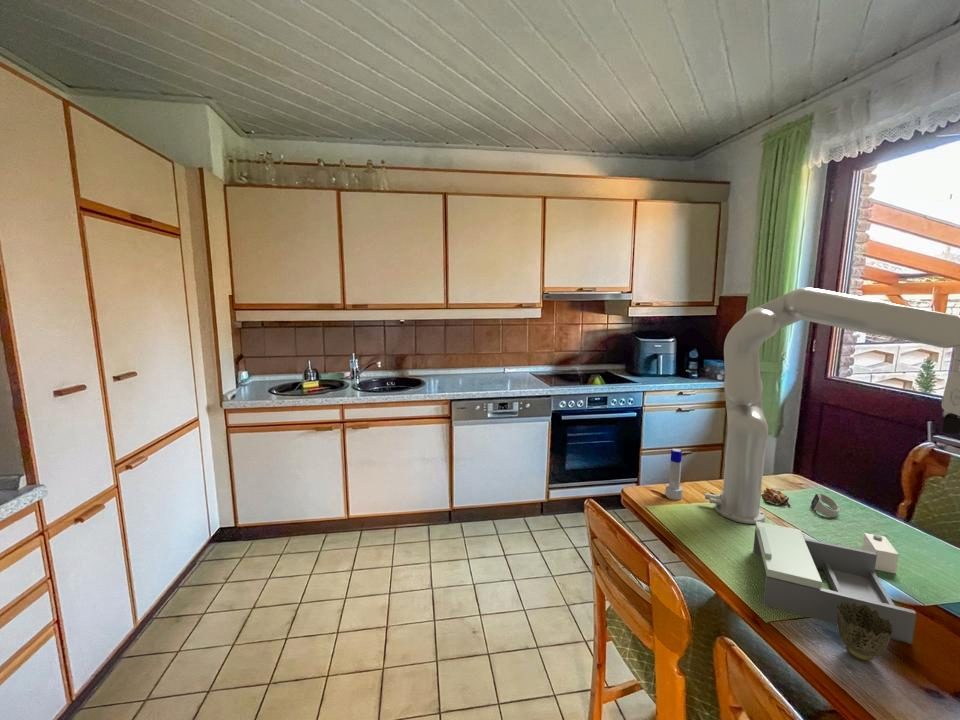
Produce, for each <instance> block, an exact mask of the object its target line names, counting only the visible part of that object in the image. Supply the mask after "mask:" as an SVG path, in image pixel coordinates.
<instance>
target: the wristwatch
mask: <svg viewBox="0 0 960 720" xmlns="http://www.w3.org/2000/svg"><path fill="white" fill-rule="evenodd" d="M825 504H826V505H827V506H828V507H827V506H826V505H825ZM829 507H830V508H829ZM811 508H812V510H813V511H816V512H818V513H819V514H821V515H822V516H825V517H828V518H837V515H838V514H839V513H840V511H841V509H840V504H838V503H836V501H835V499H833V498H831V497H829V496H827V495H826V494H823V493H821V492H816V493H815V494H814V497H812V500H811Z"/></svg>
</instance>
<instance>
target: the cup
mask: <svg viewBox="0 0 960 720" xmlns="http://www.w3.org/2000/svg"><path fill="white" fill-rule="evenodd" d="M837 621H838V625H837V630H838V634H839V637H840V639H841V641H842V642H843V644H844V645H845V649H846V652H847V653H848V655H849V656H851V658H854V659H855V660H857V661H859V662H862V663H870V662H872V661H873V660H874V658H876V657H879V656H881V655H882V654H884V653H885V651H886V650H887V648H888V645H889V643H890V640H891V639H890V637H891V634H892V631H893V627H894V625H893V624H890V620H889V619H888V618H887V619H885V621H884V620H883V618H880V617H879V612H878V611H877V610H874V611H872V610H871V609H870V608H869V607H868V606H866V605H861V606H857V604H856V603H855V602H853V603H852V605H851V606H850V604H849V603H848V602H845V603H844V604H843V602H842V603H841V605H840V607H839V605H838V607H837Z"/></svg>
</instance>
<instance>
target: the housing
mask: <svg viewBox="0 0 960 720" xmlns="http://www.w3.org/2000/svg"><path fill="white" fill-rule="evenodd" d="M803 538H804V540H805V542H806V545H807V547H808V550H809V552H810V554H811V557H812V559H813V561H814V564H815V566H816V569H820V570H823V571H824V575H825V577H826V578H827V581H828V583H829V585H830V587H831V589H832V590H831V589H828V588H824V587H823V588H822V587H821V589H818V588H814V587H809V586H805V585H801V584H797V583H793V582H789V581H785V580H780V579H776V578H772V577H768V576H767V574H765V584H764V591H763V592H764V593H763V602H764V603H763V605H764V604H765V605H764V606H766V605H767V606H766V607H770V606H771V608H773V607H775V608H774V609H777V608H778V609H777V610H781V609H782V611H786V612H788V611H789V613H792V614H797V615H800V616H804V617H808V618H811V619H815V620H819V621H822V622H827V623H829V624H834V625H837V626H838V621H837V607H838V605H839V607H840V605H841V603H842V602H843V604H844V603H845V602H848V603H849V604H850V606H851V605H852V603H853V602H855V603H856V604H857V606H861V605H866V606H868V607H869V608H870V609H871V610H872V611H874V610H877V611H878V612H879V617H880V618H883V620H884V621H885V619H887V618H888V619H889V620H890V624H893V625H894V627H893V631H892V634H891V637H890V640H894V641H896V642H901V643H903V644H904V643H905V644H909V645H913V638H914V633H915V626H916V620H917V612H916V611H915V610H914V609H910V608H906V607H901V606H898V605H895V603H894V602H893V599H892V598H891V596H890V595H889V594H888V592H887V591H886V589H885V587H884V585H883V584H882V583H881V581H880V579H879V578H878V576H877V574H876V573H875V571H876V569H875V565H876V558H877V554H876V553H875V552H870V551H865V550H862V549H860V548H855V547H854V548H853V547H850V546H845V545H839V544H836V543H835V544H834V543H832V542H831V543H830V542H825V541H822V540H821V541H820V540H815V539H810V538H806V537H803ZM752 554H754V555H758V556H762V553H761V549H760V545H759V540H758V536H757V532H756V528H755V529H754V539H753V550H752Z"/></svg>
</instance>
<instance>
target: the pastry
mask: <svg viewBox="0 0 960 720" xmlns="http://www.w3.org/2000/svg"><path fill="white" fill-rule="evenodd" d="M761 498H762V500H764V501H765V502H767V503H770V504H773V505H778V506H779V505H780V504H783V505H784V504H785V505H787V508H789V509H792V508H793V506H792V505H791V504H790V503H789V502H788V501H789V499H790V498H789V496H788V495H786V494H785V493H782V492H781V491H780V490H776V489H773V488H770V487H769V488H768V487H767V486H766V487H765V489H764V490H763V493H761Z"/></svg>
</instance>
